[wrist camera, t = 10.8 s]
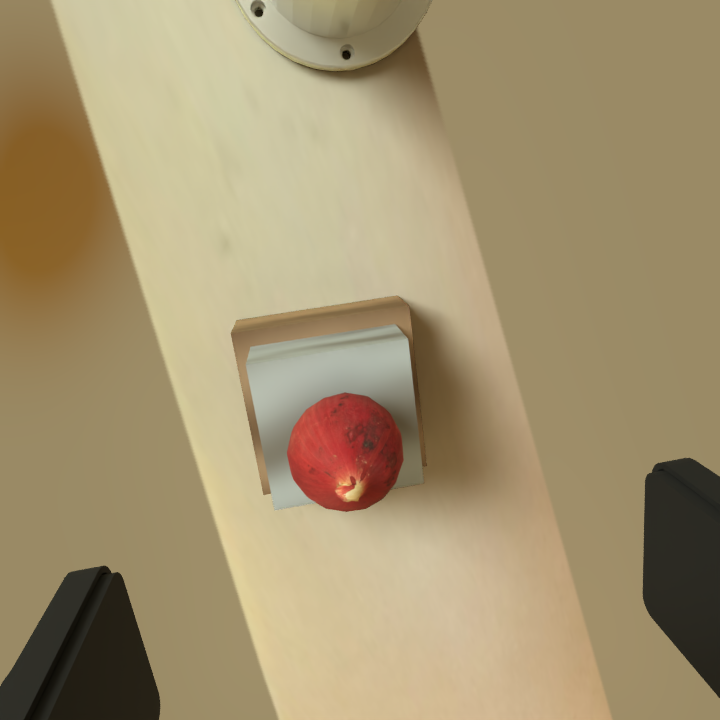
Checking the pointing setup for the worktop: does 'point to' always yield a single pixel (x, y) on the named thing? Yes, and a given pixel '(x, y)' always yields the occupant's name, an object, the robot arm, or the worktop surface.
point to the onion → (345, 452)
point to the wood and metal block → (326, 379)
